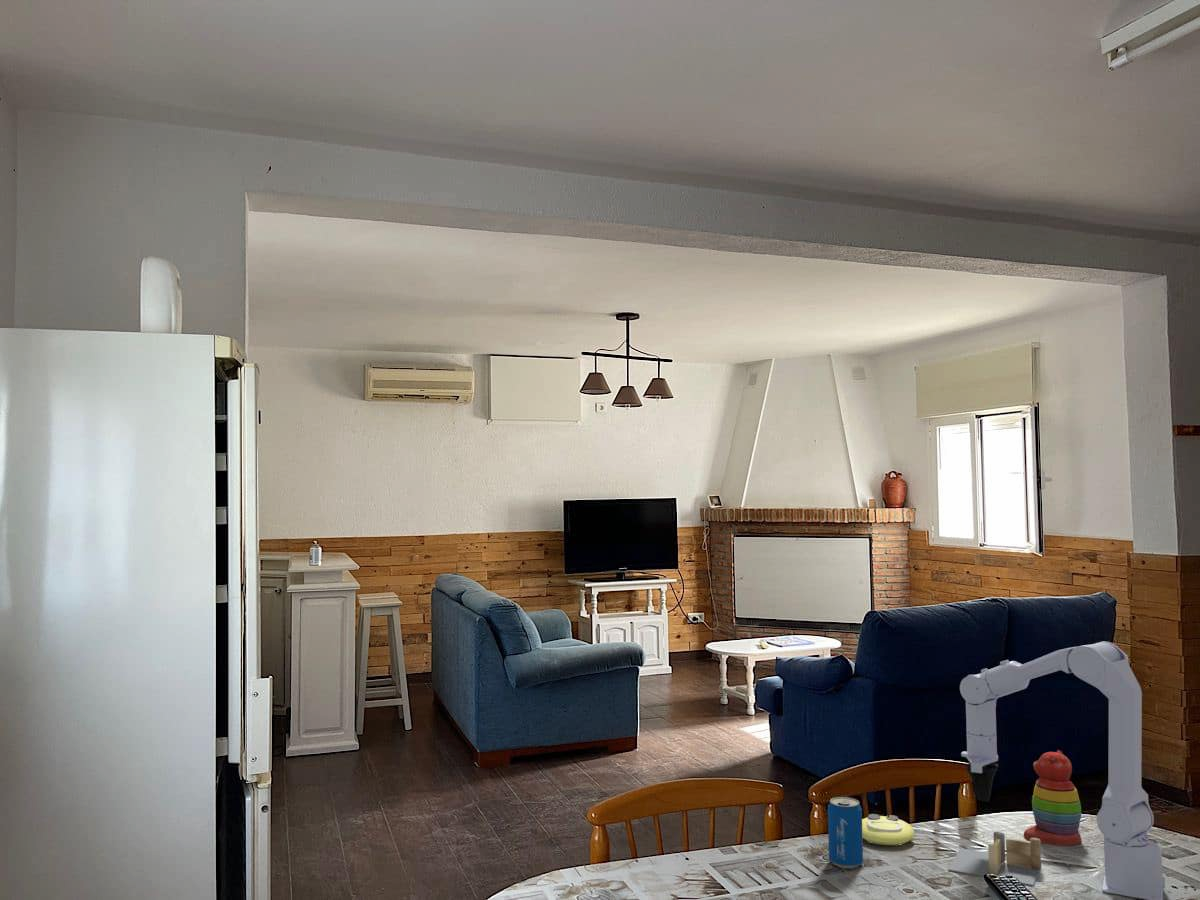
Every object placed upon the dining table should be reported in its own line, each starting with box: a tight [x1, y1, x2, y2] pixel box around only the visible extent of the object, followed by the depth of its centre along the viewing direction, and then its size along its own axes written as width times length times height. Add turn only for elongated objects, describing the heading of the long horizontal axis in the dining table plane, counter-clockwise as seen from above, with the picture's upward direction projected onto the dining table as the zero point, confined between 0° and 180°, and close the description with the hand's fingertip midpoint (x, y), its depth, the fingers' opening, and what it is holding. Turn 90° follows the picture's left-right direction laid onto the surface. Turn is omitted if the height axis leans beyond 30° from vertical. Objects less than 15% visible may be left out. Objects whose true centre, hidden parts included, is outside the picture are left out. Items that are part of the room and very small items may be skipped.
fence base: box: [1005, 837, 1042, 871], centre depth 184 cm, size 6×2×5 cm, turn 59°
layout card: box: [947, 847, 1040, 887], centre depth 184 cm, size 15×13×1 cm
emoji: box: [862, 813, 916, 846], centre depth 201 cm, size 4×12×12 cm
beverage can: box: [827, 796, 864, 869], centre depth 187 cm, size 6×6×12 cm
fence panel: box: [987, 831, 1006, 874], centre depth 183 cm, size 9×2×5 cm, turn 149°
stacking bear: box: [1023, 749, 1082, 846], centre depth 201 cm, size 11×10×18 cm
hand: (983, 800), depth 196 cm, fingers closed
